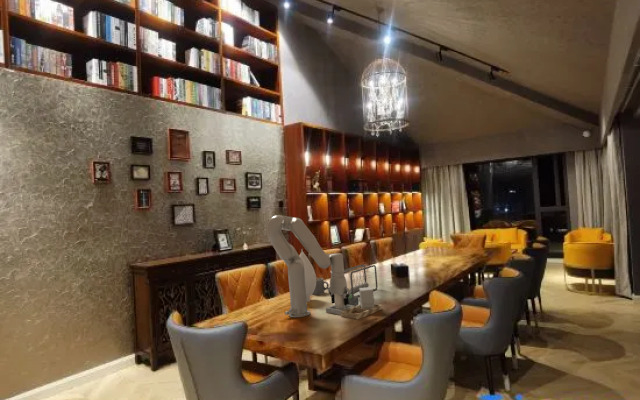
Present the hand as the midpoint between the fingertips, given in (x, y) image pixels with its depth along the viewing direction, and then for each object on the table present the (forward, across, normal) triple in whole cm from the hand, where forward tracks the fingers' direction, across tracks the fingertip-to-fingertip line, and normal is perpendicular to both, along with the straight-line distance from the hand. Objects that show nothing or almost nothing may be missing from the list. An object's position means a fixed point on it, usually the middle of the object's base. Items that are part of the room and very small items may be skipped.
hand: (340, 303), depth 236 cm
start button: (+3, -3, +12) cm, 13 cm away
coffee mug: (+4, -44, +29) cm, 53 cm away
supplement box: (+5, +13, +9) cm, 16 cm away
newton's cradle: (+5, -17, +41) cm, 45 cm away
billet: (+4, 0, 0) cm, 4 cm away
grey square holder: (+4, -3, +12) cm, 13 cm away
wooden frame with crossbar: (+4, +13, +4) cm, 14 cm away
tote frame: (+4, 0, 0) cm, 4 cm away
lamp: (+4, -38, +9) cm, 39 cm away
